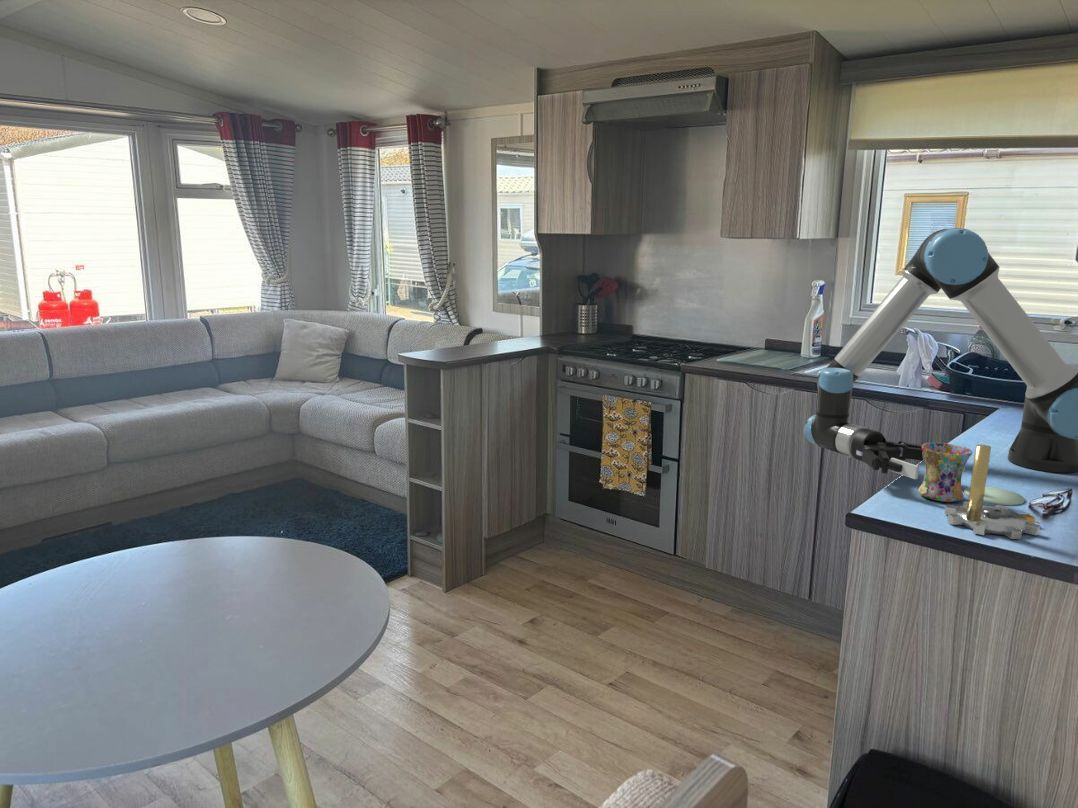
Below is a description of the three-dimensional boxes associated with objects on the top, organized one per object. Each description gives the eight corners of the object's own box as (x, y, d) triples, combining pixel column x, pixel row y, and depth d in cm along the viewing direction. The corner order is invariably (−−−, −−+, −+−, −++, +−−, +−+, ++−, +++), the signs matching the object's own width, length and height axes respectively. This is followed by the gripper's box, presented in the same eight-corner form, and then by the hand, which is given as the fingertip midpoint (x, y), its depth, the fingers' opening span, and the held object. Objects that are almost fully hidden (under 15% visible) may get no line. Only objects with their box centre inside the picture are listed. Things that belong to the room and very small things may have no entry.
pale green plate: (987, 485, 174) (987, 483, 174) (1036, 501, 164) (1036, 499, 164) (952, 491, 170) (952, 489, 169) (1000, 508, 160) (1000, 506, 160)
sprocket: (981, 505, 160) (992, 430, 157) (1055, 531, 147) (1069, 450, 144) (927, 515, 154) (938, 437, 151) (1000, 543, 141) (1013, 458, 137)
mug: (975, 504, 162) (982, 454, 159) (932, 506, 160) (939, 455, 158) (939, 486, 173) (945, 438, 171) (899, 487, 172) (904, 439, 170)
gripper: (899, 454, 190) (979, 479, 171) (818, 465, 180) (894, 493, 161) (903, 423, 188) (984, 446, 169) (821, 432, 178) (898, 457, 159)
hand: (940, 469), depth 165 cm, fingers open, 13 cm apart
